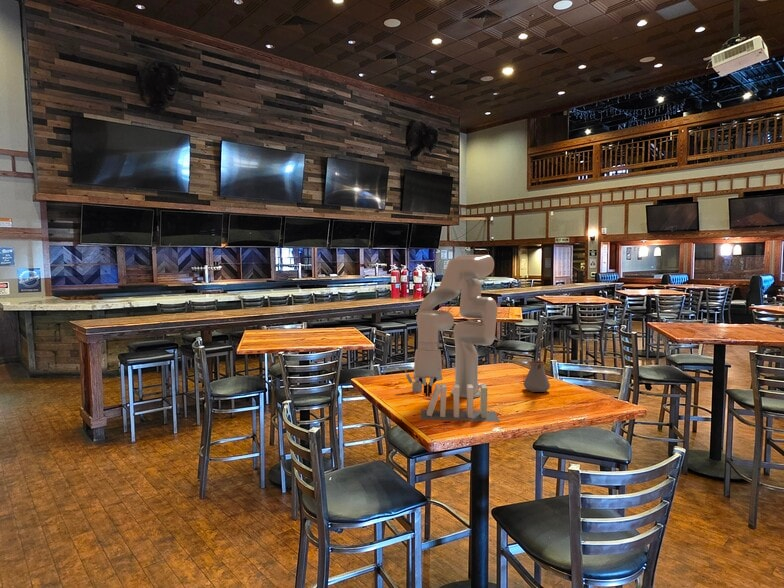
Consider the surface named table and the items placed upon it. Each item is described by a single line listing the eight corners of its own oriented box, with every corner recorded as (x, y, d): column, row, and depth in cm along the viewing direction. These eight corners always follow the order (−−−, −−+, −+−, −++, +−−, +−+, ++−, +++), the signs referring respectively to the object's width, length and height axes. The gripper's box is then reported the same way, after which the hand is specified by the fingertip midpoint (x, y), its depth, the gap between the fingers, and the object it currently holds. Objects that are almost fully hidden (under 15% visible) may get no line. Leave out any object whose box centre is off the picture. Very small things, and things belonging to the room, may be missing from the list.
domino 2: (440, 416, 173) (441, 387, 172) (439, 412, 178) (441, 383, 177) (445, 417, 173) (446, 387, 172) (444, 412, 178) (445, 383, 177)
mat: (420, 420, 170) (420, 419, 170) (420, 410, 182) (420, 409, 182) (499, 422, 168) (499, 421, 168) (494, 412, 180) (494, 411, 180)
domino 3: (454, 417, 173) (454, 387, 172) (453, 413, 178) (453, 384, 177) (459, 417, 173) (459, 387, 172) (458, 413, 178) (458, 384, 177)
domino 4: (467, 417, 172) (468, 387, 172) (466, 413, 177) (467, 384, 177) (472, 417, 172) (473, 387, 172) (471, 413, 177) (472, 384, 177)
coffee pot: (522, 386, 219) (523, 354, 218) (548, 388, 216) (549, 355, 215) (524, 399, 198) (525, 363, 197) (553, 401, 195) (554, 365, 195)
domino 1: (426, 415, 173) (436, 387, 173) (426, 410, 178) (436, 383, 177) (431, 416, 173) (441, 388, 172) (431, 412, 178) (441, 385, 177)
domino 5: (485, 413, 177) (485, 384, 176) (486, 418, 172) (487, 388, 171) (480, 413, 177) (480, 384, 176) (481, 418, 172) (482, 388, 171)
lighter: (421, 391, 210) (421, 373, 210) (421, 392, 209) (422, 374, 208) (405, 391, 210) (405, 373, 210) (405, 392, 208) (405, 374, 208)
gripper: (448, 344, 178) (447, 393, 179) (408, 344, 179) (407, 392, 180) (449, 348, 170) (448, 398, 171) (407, 347, 171) (406, 397, 172)
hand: (427, 395), depth 176 cm, fingers closed
